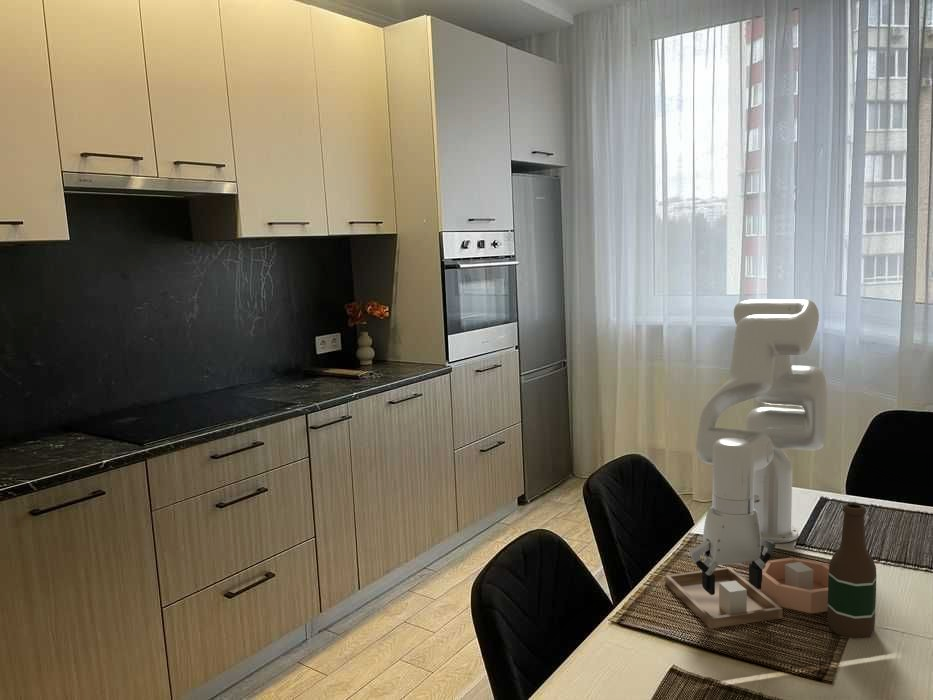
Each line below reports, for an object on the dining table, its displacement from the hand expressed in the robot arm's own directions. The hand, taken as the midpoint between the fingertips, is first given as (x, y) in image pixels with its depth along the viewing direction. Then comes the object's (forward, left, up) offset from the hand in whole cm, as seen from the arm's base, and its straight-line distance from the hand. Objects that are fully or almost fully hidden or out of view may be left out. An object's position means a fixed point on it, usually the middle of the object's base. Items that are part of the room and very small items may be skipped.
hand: (732, 589), depth 139 cm
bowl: (-3, +17, -5) cm, 18 cm away
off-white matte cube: (-4, +17, -5) cm, 18 cm away
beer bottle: (+11, +17, -6) cm, 21 cm away
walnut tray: (-5, 0, -5) cm, 7 cm away
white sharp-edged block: (0, 0, -5) cm, 5 cm away
